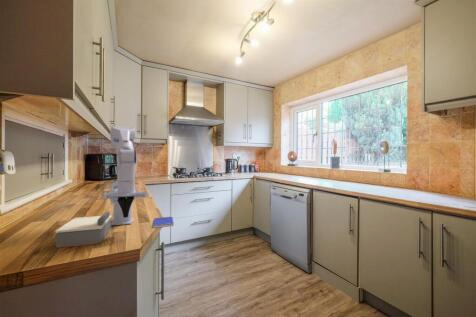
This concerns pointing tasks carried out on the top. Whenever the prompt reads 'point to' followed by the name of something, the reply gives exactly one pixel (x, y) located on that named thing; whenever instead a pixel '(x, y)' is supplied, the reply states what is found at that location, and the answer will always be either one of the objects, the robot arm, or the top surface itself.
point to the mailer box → (82, 236)
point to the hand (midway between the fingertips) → (125, 216)
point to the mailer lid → (85, 223)
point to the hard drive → (163, 222)
